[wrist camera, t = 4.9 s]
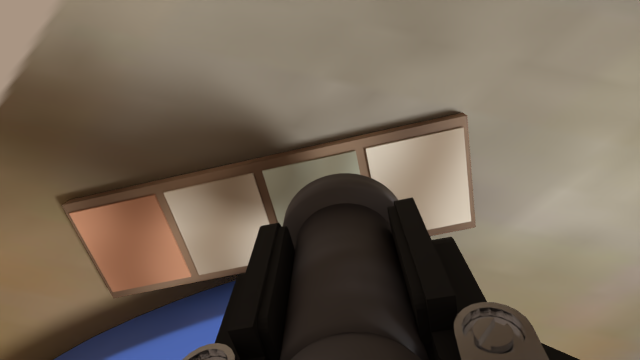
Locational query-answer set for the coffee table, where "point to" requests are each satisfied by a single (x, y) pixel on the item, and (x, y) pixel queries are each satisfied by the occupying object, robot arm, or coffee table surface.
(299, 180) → the board
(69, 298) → the coffee table surface
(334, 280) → the pawn
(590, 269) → the coffee table surface
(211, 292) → the location marker
